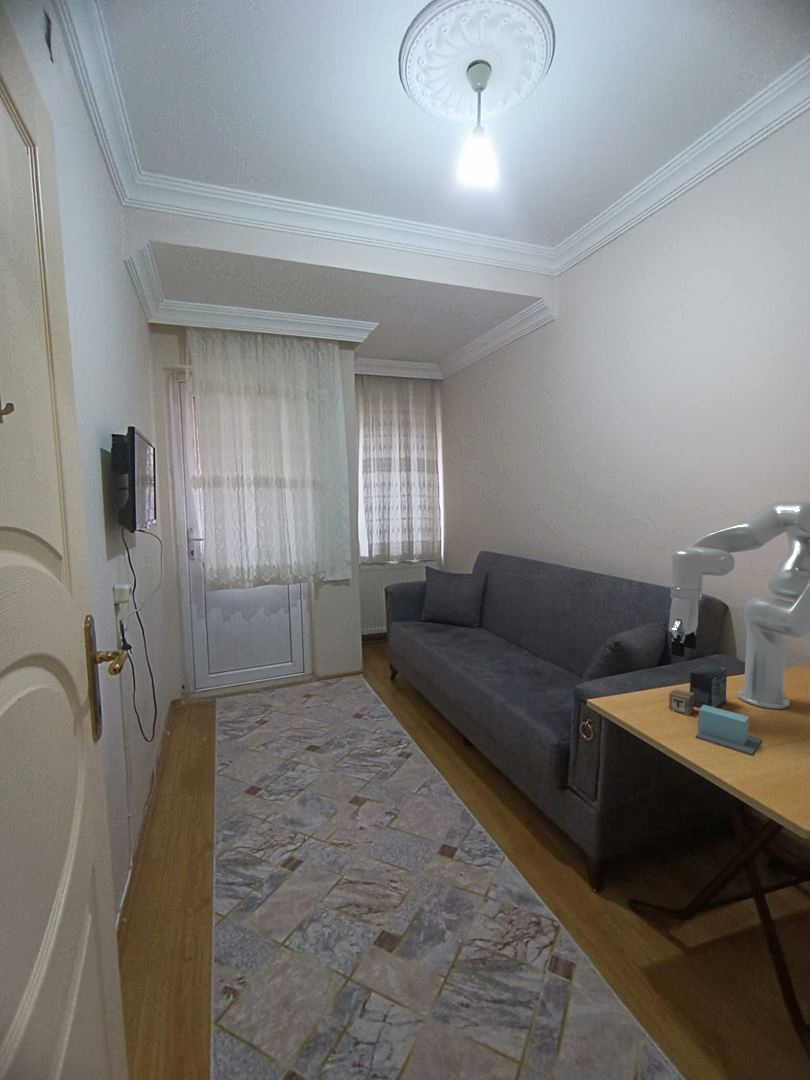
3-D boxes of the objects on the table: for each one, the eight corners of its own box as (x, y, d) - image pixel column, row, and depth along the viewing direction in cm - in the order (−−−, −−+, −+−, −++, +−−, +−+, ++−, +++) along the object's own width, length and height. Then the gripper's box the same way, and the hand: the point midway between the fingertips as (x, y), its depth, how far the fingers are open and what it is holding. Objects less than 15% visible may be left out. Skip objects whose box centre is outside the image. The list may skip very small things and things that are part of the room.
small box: (703, 695, 149) (704, 662, 148) (726, 702, 144) (728, 668, 143) (687, 704, 143) (689, 670, 142) (711, 712, 137) (713, 676, 136)
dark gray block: (707, 724, 130) (707, 722, 130) (761, 740, 121) (761, 738, 121) (695, 737, 123) (695, 735, 123) (752, 755, 115) (752, 753, 115)
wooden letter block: (674, 704, 143) (675, 688, 142) (693, 709, 139) (694, 693, 139) (668, 710, 139) (668, 693, 139) (687, 716, 136) (688, 699, 135)
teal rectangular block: (702, 726, 128) (703, 704, 128) (747, 739, 121) (748, 716, 120) (698, 731, 126) (699, 709, 125) (743, 745, 118) (744, 722, 118)
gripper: (681, 587, 145) (679, 642, 146) (660, 596, 133) (658, 655, 135) (710, 590, 139) (707, 647, 141) (690, 600, 128) (688, 662, 129)
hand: (683, 651), depth 138 cm, fingers open, 9 cm apart
